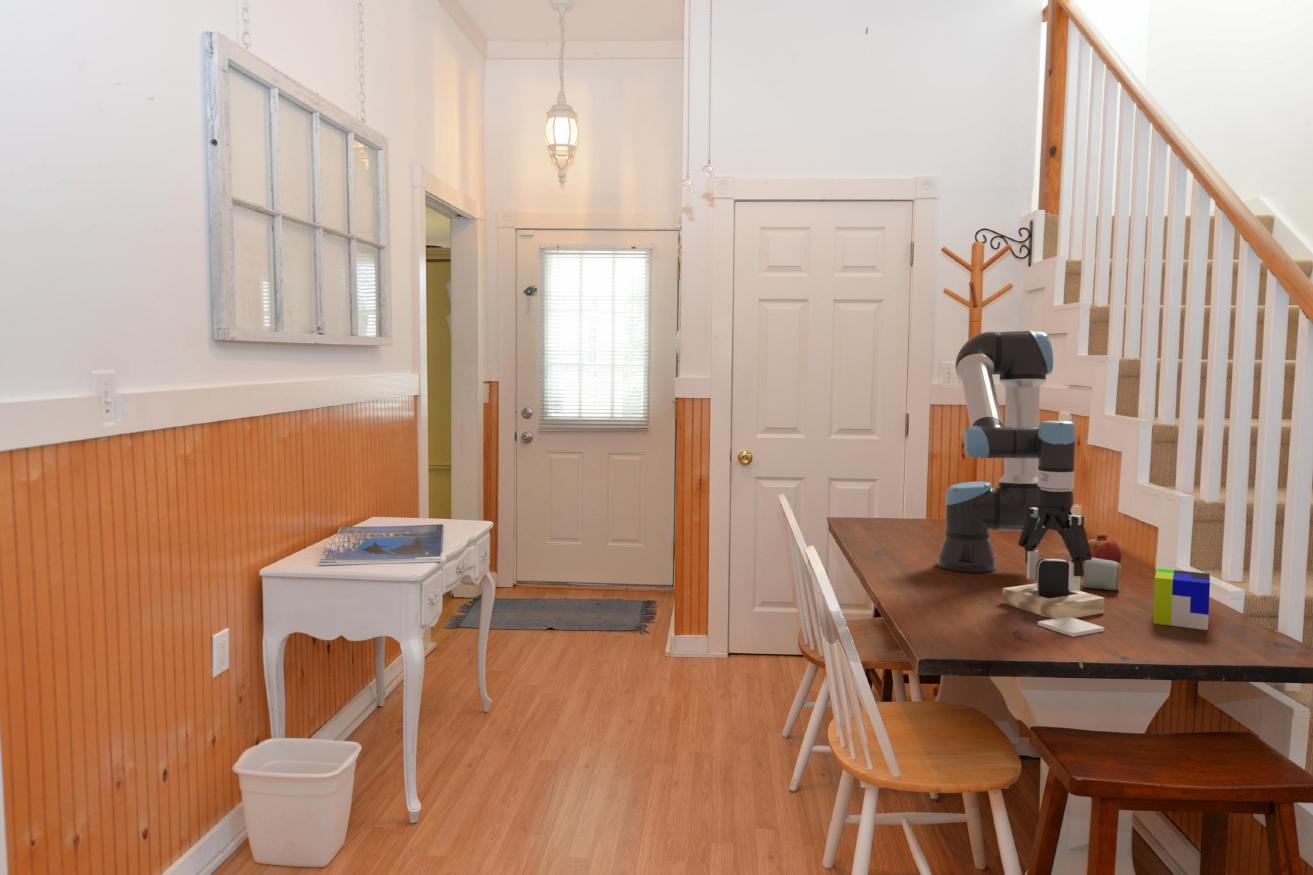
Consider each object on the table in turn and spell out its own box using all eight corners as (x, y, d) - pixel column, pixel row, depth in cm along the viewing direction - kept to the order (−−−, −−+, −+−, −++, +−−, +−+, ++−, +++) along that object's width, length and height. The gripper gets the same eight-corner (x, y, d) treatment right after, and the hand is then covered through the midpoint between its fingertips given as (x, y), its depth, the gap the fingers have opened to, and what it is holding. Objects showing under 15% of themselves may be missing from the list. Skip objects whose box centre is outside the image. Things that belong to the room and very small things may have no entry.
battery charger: (1065, 606, 202) (1067, 557, 201) (1070, 610, 198) (1071, 561, 197) (1033, 604, 203) (1034, 556, 202) (1037, 609, 200) (1038, 560, 199)
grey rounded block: (1119, 593, 212) (1121, 562, 212) (1082, 590, 216) (1083, 559, 216) (1120, 585, 221) (1121, 555, 221) (1084, 581, 225) (1085, 551, 225)
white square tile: (1037, 625, 188) (1037, 621, 187) (1068, 619, 191) (1068, 616, 191) (1072, 636, 179) (1072, 632, 179) (1104, 631, 183) (1104, 627, 183)
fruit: (1112, 578, 228) (1114, 540, 227) (1073, 571, 235) (1075, 535, 234) (1129, 571, 235) (1130, 535, 234) (1090, 565, 242) (1091, 530, 241)
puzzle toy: (1207, 630, 183) (1209, 583, 182) (1153, 623, 188) (1154, 577, 188) (1207, 618, 192) (1209, 573, 191) (1155, 612, 197) (1156, 568, 196)
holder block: (1002, 602, 205) (1002, 588, 205) (1046, 596, 211) (1046, 581, 210) (1058, 620, 191) (1058, 604, 190) (1104, 612, 196) (1104, 597, 196)
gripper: (1003, 483, 208) (1001, 574, 209) (1087, 497, 186) (1084, 597, 188) (1027, 481, 211) (1024, 571, 212) (1112, 494, 189) (1109, 594, 191)
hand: (1052, 583), depth 200 cm, fingers open, 11 cm apart
